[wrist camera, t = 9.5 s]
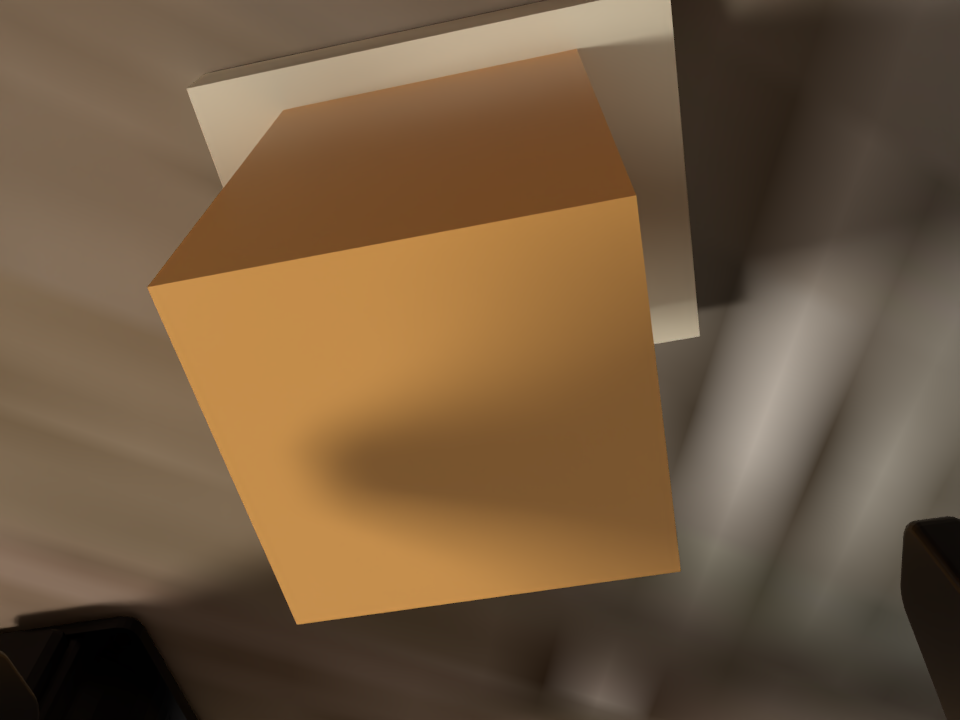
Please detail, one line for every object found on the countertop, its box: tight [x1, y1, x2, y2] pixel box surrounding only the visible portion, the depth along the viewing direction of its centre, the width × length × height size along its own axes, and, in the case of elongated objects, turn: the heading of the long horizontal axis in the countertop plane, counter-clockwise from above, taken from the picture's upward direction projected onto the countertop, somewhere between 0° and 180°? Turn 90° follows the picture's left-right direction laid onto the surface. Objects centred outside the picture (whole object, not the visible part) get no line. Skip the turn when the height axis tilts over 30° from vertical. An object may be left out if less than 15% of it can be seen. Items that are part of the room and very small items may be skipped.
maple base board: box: [187, 0, 700, 344], centre depth 18 cm, size 7×9×1 cm
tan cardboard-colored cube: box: [147, 49, 681, 625], centre depth 14 cm, size 6×6×8 cm
